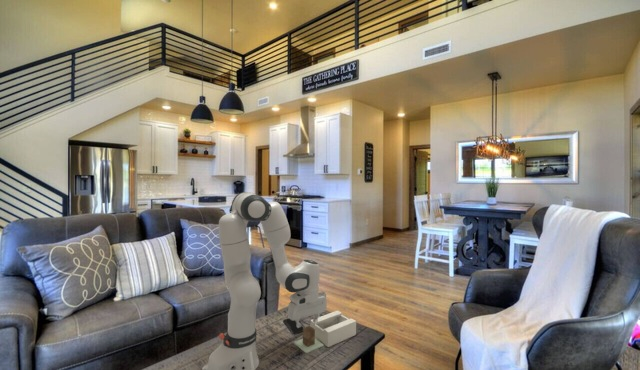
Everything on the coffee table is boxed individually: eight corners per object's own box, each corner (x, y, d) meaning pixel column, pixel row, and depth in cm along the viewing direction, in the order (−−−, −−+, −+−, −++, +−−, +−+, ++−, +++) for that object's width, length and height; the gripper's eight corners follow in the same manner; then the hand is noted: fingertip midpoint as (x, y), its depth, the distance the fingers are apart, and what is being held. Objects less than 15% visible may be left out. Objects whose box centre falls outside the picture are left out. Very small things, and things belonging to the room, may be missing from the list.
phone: (295, 316, 166) (307, 329, 153) (295, 318, 166) (307, 331, 153) (282, 319, 162) (293, 333, 149) (282, 322, 163) (293, 335, 149)
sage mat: (306, 353, 134) (306, 352, 134) (293, 343, 142) (293, 342, 142) (323, 345, 140) (323, 344, 140) (310, 336, 148) (310, 335, 148)
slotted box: (328, 347, 139) (328, 332, 139) (310, 334, 150) (310, 320, 150) (355, 334, 150) (356, 321, 150) (337, 323, 161) (337, 310, 161)
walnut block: (307, 346, 138) (307, 332, 138) (302, 342, 141) (302, 328, 141) (314, 343, 141) (314, 329, 140) (309, 340, 144) (309, 325, 144)
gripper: (322, 288, 149) (320, 316, 149) (286, 297, 136) (285, 327, 136) (330, 293, 144) (328, 321, 144) (294, 302, 131) (292, 333, 131)
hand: (307, 324), depth 140 cm, fingers open, 8 cm apart
